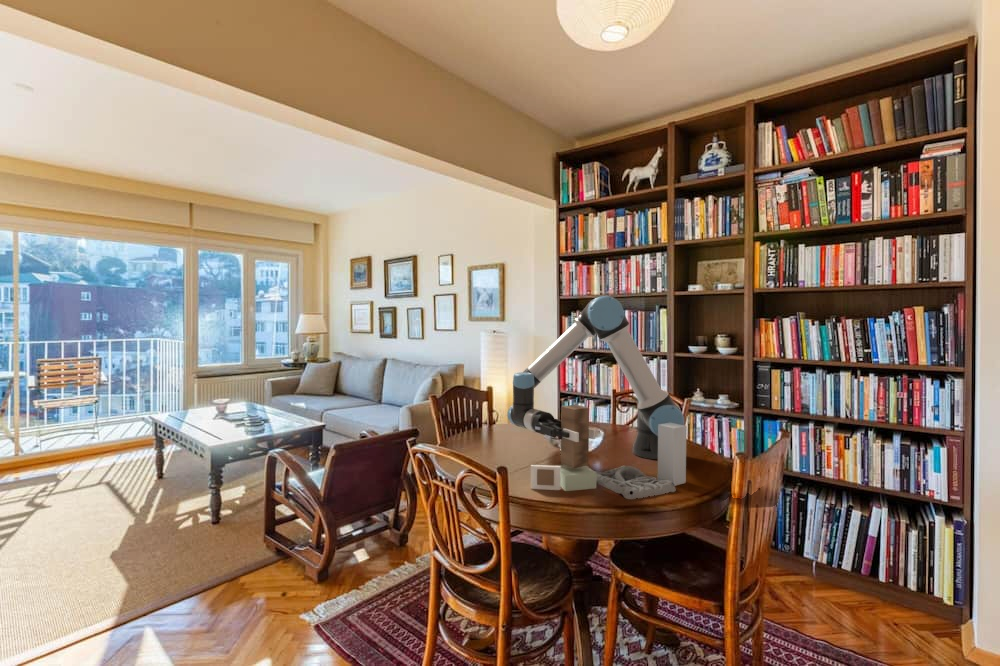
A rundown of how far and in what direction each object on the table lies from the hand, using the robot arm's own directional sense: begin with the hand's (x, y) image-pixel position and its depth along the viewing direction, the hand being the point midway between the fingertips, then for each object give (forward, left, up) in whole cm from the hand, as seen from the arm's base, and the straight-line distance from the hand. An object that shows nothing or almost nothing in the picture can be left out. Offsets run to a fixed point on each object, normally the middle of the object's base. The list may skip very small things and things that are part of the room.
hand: (586, 435), depth 147 cm
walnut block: (+2, -5, -10) cm, 11 cm away
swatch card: (+12, -2, -16) cm, 20 cm away
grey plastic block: (-29, -3, -16) cm, 33 cm away
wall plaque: (-15, -3, -17) cm, 23 cm away
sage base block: (+2, -5, -16) cm, 17 cm away
